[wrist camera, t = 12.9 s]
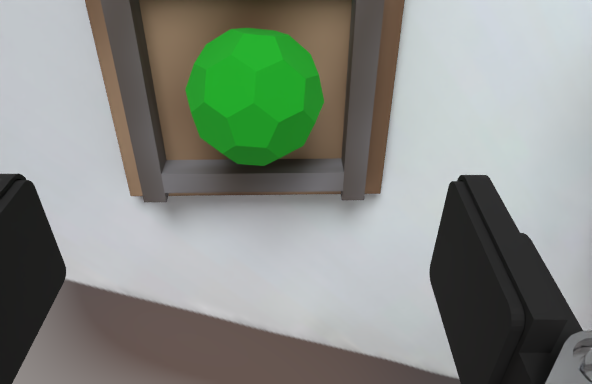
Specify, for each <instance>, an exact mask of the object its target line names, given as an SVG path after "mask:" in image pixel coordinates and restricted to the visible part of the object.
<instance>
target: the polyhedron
mask: <svg viewBox="0 0 592 384" xmlns="http://www.w3.org/2000/svg"><path fill="white" fill-rule="evenodd" d="M185 91H186V95H187V99H188V103H189V107H190V111H191V114H192V117H193V120H194V122H195V125H196V128H197V131H198V133H199V136H200V138H201V139H203V140H204V141H205V142H207V143H208V144H210V145H211V146H212V147H214V148H215V149H216V150H218V151H219V152H220V153H222V154H223V155H225V156H226V157H228V158H229V159H231V160H232V161H234V162H235V163H237V164H244V165H258V166H265V165H267V164H269V163H271V162H273V161H275V160H277V159H279V158H281V157H283V156H285V155H287V154H289V153H291V152H293V151H295V150H296V149H298V148H300V147H302V146H304V144H305V142H306V140H307V138H308V136H309V134H310V132H311V130H312V129H313V127H314V125H315V123H316V120H317V118H318V115H319V113H320V111H321V108H322V106H323V104H324V98H323V93H322V87H321V82H320V77H319V74H318V71H317V69H316V66H315V64H314V61H313V59H312V56H311V54H310V53H309V52H308V51H307V50H306V49H304V48H303V47H302V46H301V45H300V44H299V43H298V42H296V41H295V40H294V39H293V38H292V37H291V36H290V35H288V34H285V33H281V32H278V31H274V30H265V29H255V28H238V29H230V30H228V31H227V32H225V33H224V34H222V35H220V36H219V37H217V38H215V39H214V40H212V41H211V42H209V43H207V44H206V45H205V47H204V48H203V50H202V52H201V53H200V55H199V56H198V58H197V60H196V61H195V63H194V65H193V68H192V71H191V74H190V77H189V80H188V83H187V86H186V89H185Z"/></svg>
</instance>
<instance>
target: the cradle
mask: <svg viewBox="0 0 592 384" xmlns="http://www.w3.org/2000/svg"><path fill="white" fill-rule="evenodd" d="M404 1H405V0H85V3H86V7H87V11H88V15H89V20H90V24H91V28H92V33H93V37H94V41H95V45H96V50H97V54H98V58H99V62H100V67H101V71H102V75H103V80H104V84H105V88H106V92H107V97H108V101H109V105H110V109H111V114H112V118H113V122H114V127H115V131H116V135H117V139H118V144H119V148H120V152H121V157H122V161H123V165H124V169H125V174H126V178H127V182H128V186H129V191H130V195H131V196H143V199H144V202H167V199H168V196H190V195H285V194H341V196H342V200H364V194H380V192H381V184H382V176H383V168H384V160H385V152H386V144H387V136H388V128H389V120H390V112H391V104H392V96H393V88H394V80H395V72H396V64H397V56H398V48H399V40H400V32H401V24H402V16H403V9H404ZM238 28H255V29H265V30H274V31H278V32H281V33H285V34H288V35H290V36H291V37H292V38H293V39H294V40H295V41H296V42H298V43H299V44H300V45H301V46H302V47H303V48H304V49H306V50H307V51H308V52H309V53H310V54H311V56H312V59H313V61H314V64H315V66H316V69H317V71H318V74H319V77H320V82H321V87H322V93H323V98H324V104H323V106H322V108H321V111H320V113H319V115H318V118H317V120H316V123H315V125H314V127H313V129H312V130H311V132H310V134H309V136H308V138H307V140H306V142H305V144H304V146H302V147H300V148H298V149H296V150H295V151H293V152H291V153H289V154H287V155H285V156H283V157H281V158H279V159H277V160H275V161H273V162H271V163H269V164H267V165H265V166H258V165H244V164H237V163H235V162H234V161H232V160H231V159H229V158H228V157H226V156H225V155H223V154H222V153H220V152H219V151H218V150H216V149H215V148H214V147H212V146H211V145H210V144H208V143H207V142H205V141H204V140H203V139H201V138H200V136H199V133H198V131H197V128H196V125H195V122H194V120H193V117H192V114H191V111H190V107H189V103H188V99H187V95H186V91H185V89H186V86H187V83H188V80H189V77H190V74H191V71H192V68H193V65H194V63H195V61H196V60H197V58H198V56H199V55H200V53H201V52H202V50H203V48H204V47H205V45H206V44H207V43H209V42H211V41H212V40H214V39H215V38H217V37H219V36H220V35H222V34H224V33H225V32H227V31H228V30H230V29H238Z"/></svg>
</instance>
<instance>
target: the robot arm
mask: <svg viewBox="0 0 592 384" xmlns="http://www.w3.org/2000/svg"><path fill="white" fill-rule="evenodd" d="M65 276H66V267H65V264H64V261H63V258H62V256H61V253H60V251H59V248H58V246H57V243H56V240H55V238H54V235H53V233H52V230H51V227H50V225H49V222H48V220H47V217H46V215H45V212H44V209H43V207H42V204H41V202H40V199H39V196H38V194H37V191H36V189H35V186H34V184H33V183H32V182H31V181H29V180H26V178H25V177H24V176H23V175H21V174H0V384H12V383H13V380H14V379H15V377H16V375H17V373H18V371H19V369H20V367H21V365H22V363H23V361H24V359H25V357H26V355H27V353H28V351H29V349H30V347H31V345H32V343H33V341H34V339H35V337H36V336H37V334H38V332H39V329H40V328H41V326H42V324H43V322H44V320H45V318H46V316H47V314H48V312H49V310H50V308H51V306H52V304H53V302H54V300H55V298H56V296H57V294H58V292H59V290H60V288H61V287H62V285H63V282H64V280H65ZM430 281H431V285H432V288H433V292H434V295H435V298H436V302H437V305H438V308H439V312H440V315H441V318H442V322H443V325H444V328H445V332H446V335H447V338H448V342H449V345H450V349H451V352H452V355H453V359H454V362H455V365H456V369H457V372H458V375H459V379H460V382H461V384H592V331H583V330H582V328H581V326H580V325H579V323H578V321H577V319H576V318H575V316H574V314H573V312H572V311H571V309H570V307H569V305H568V304H567V302H566V300H565V298H564V297H563V295H562V293H561V291H560V290H559V288H558V286H557V284H556V283H555V281H554V279H553V277H552V276H551V274H550V272H549V270H548V269H547V267H546V265H545V263H544V262H543V260H542V258H541V256H540V255H539V253H538V251H537V249H536V248H535V246H534V244H533V242H532V241H531V239H530V238H529V237H528V235H526V234H524V233H520V232H519V230H518V228H517V227H516V225H515V223H514V221H513V219H512V218H511V216H510V214H509V212H508V210H507V209H506V207H505V205H504V203H503V201H502V200H501V198H500V196H499V194H498V192H497V191H496V189H495V187H494V185H493V183H492V182H491V180H490V178H489V177H488V176H486V175H461V176H459V178H458V180H457V181H452V182H451V183H450V184H449V188H448V192H447V196H446V200H445V205H444V209H443V213H442V217H441V222H440V226H439V230H438V235H437V239H436V243H435V247H434V252H433V256H432V260H431V264H430Z"/></svg>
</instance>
